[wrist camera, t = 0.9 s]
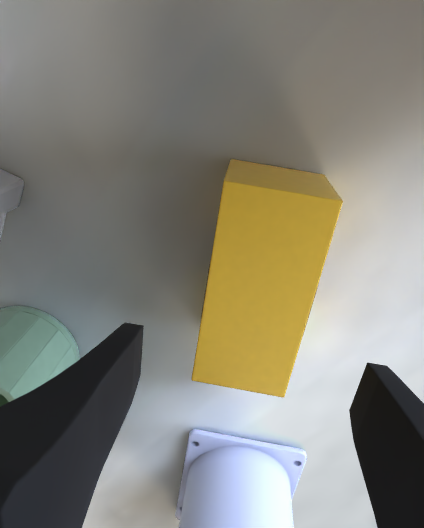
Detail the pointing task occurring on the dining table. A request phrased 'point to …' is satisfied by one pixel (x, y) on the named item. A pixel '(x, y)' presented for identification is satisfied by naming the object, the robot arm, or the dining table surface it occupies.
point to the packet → (263, 275)
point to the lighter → (9, 194)
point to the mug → (31, 350)
